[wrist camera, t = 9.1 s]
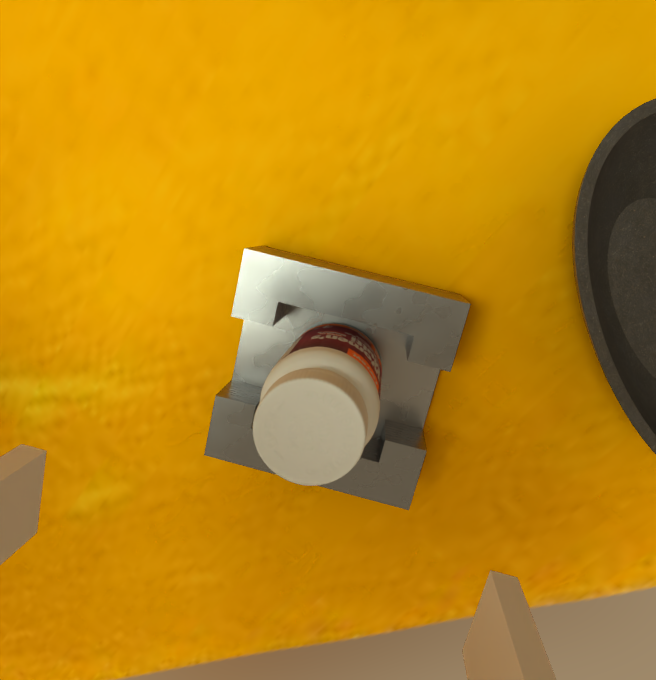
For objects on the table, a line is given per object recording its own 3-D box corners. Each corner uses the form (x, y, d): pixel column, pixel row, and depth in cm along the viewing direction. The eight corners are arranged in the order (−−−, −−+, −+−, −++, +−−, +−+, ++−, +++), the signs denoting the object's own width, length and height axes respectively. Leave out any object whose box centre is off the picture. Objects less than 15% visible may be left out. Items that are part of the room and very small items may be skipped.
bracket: (224, 429, 37) (204, 455, 33) (261, 245, 34) (244, 248, 30) (406, 477, 36) (408, 510, 32) (460, 294, 33) (470, 304, 29)
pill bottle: (397, 343, 34) (401, 399, 23) (359, 427, 35) (347, 518, 24) (307, 306, 34) (269, 343, 23) (273, 391, 35) (222, 465, 24)
